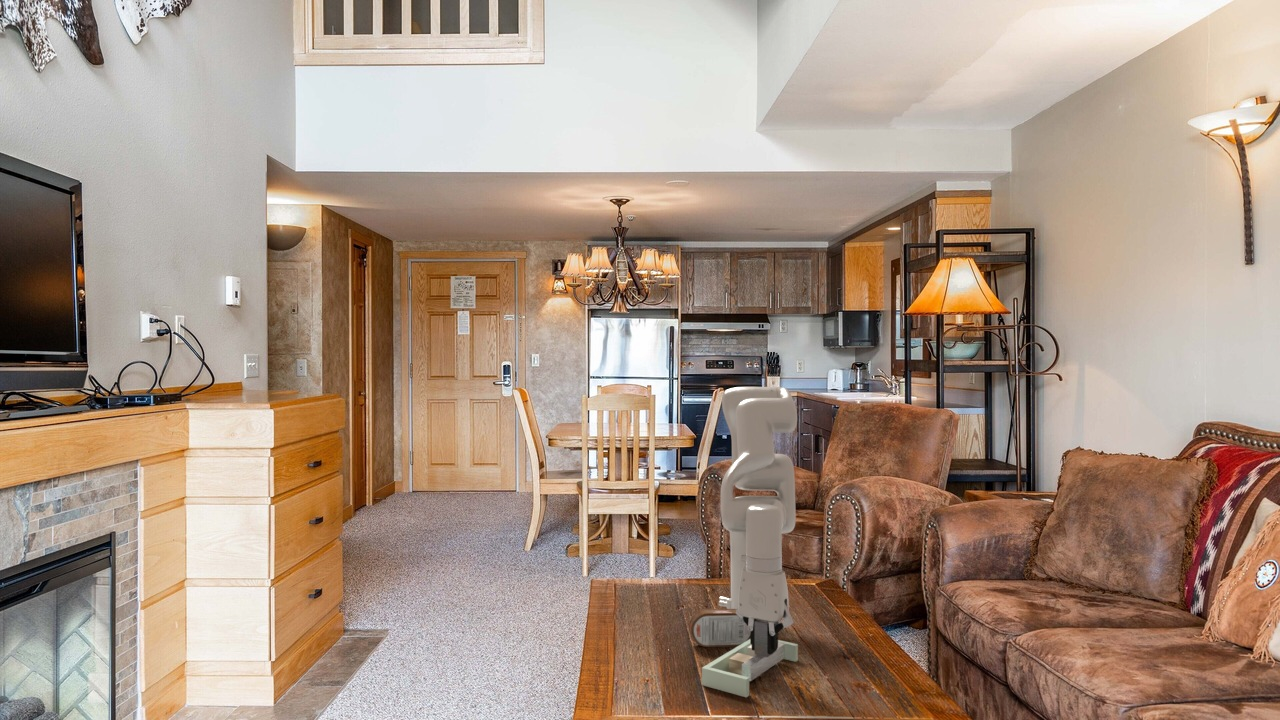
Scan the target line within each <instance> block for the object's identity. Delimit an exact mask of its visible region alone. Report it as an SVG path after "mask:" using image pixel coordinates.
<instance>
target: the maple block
mask: <svg viewBox="0 0 1280 720" xmlns="http://www.w3.org/2000/svg"><path fill="white" fill-rule="evenodd" d="M752 657H753V656H749V655H745V654H741V653H737V654H736V655H734V656H732V657H731V658H729V672H730V673H734V674H737V675H741V676H742V664H743V663H745V662H746V661H748V660H749V659H751V658H752Z"/></svg>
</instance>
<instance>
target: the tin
mask: <svg viewBox="0 0 1280 720" xmlns="http://www.w3.org/2000/svg"><path fill="white" fill-rule="evenodd" d="M736 610H737V609H727V608H704V609H700V610H698V611H697V612H695V613H694V614H693V616H692V617H691V618H690V620H689V627H688V628H689V633H690V635H691V637H692V639H693V641H694V642H695V643H696V644H697V645H698V646H701V647H704V648H727V647H728V648H731V647H733V648H736V647H737V646H739V645H741V644H743V643H744V642H746V641H748V640H749V639H750V631H749V629H748V626H747V625H746V623H745V622H744V620H743V619H742V618H740V617H739V616H738V615H737V614H736Z"/></svg>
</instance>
